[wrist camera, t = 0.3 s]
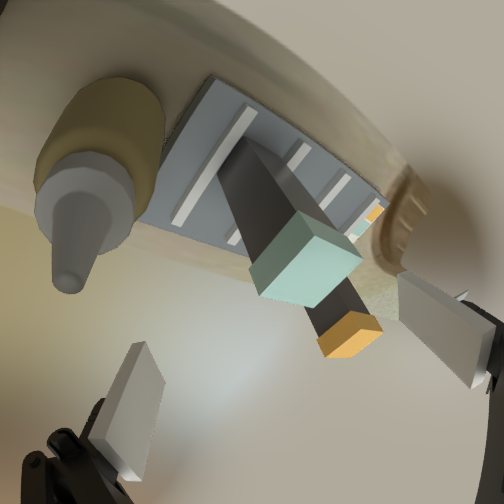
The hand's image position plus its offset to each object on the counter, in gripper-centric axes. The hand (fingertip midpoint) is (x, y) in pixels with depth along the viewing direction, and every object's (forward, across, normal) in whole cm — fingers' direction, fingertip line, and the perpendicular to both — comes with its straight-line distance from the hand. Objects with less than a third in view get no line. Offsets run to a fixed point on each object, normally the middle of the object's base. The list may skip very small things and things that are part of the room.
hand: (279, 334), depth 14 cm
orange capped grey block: (+20, +6, -2) cm, 21 cm away
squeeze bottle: (+11, -8, +15) cm, 21 cm away
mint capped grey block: (+14, +1, +8) cm, 16 cm away
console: (+19, +4, +5) cm, 20 cm away
